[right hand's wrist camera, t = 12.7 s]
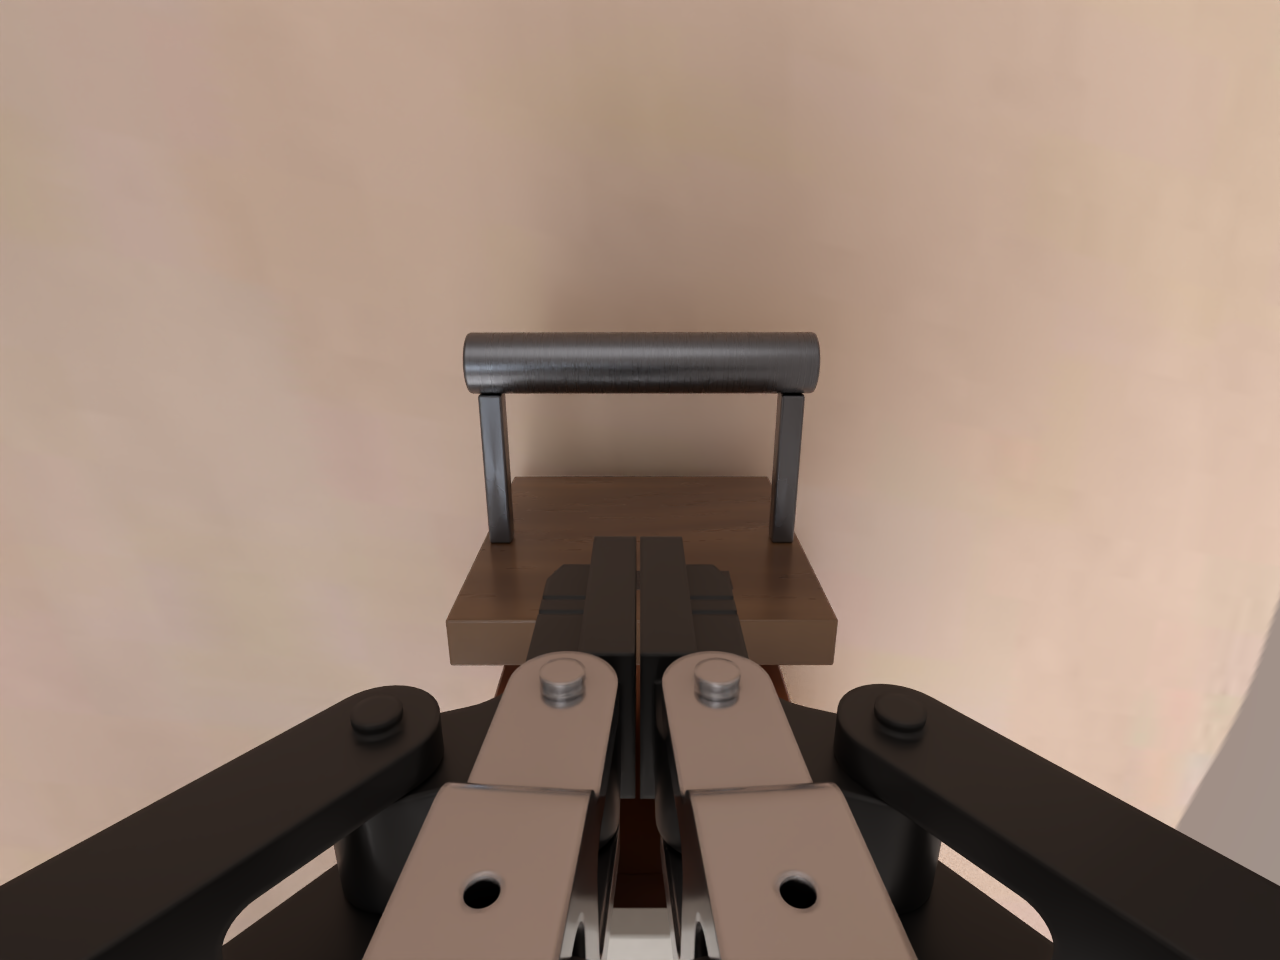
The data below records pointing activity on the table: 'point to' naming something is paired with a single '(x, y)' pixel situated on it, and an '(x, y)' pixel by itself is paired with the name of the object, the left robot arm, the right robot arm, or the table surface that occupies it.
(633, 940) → the tall grey storage box
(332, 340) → the table surface
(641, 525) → the drawer
